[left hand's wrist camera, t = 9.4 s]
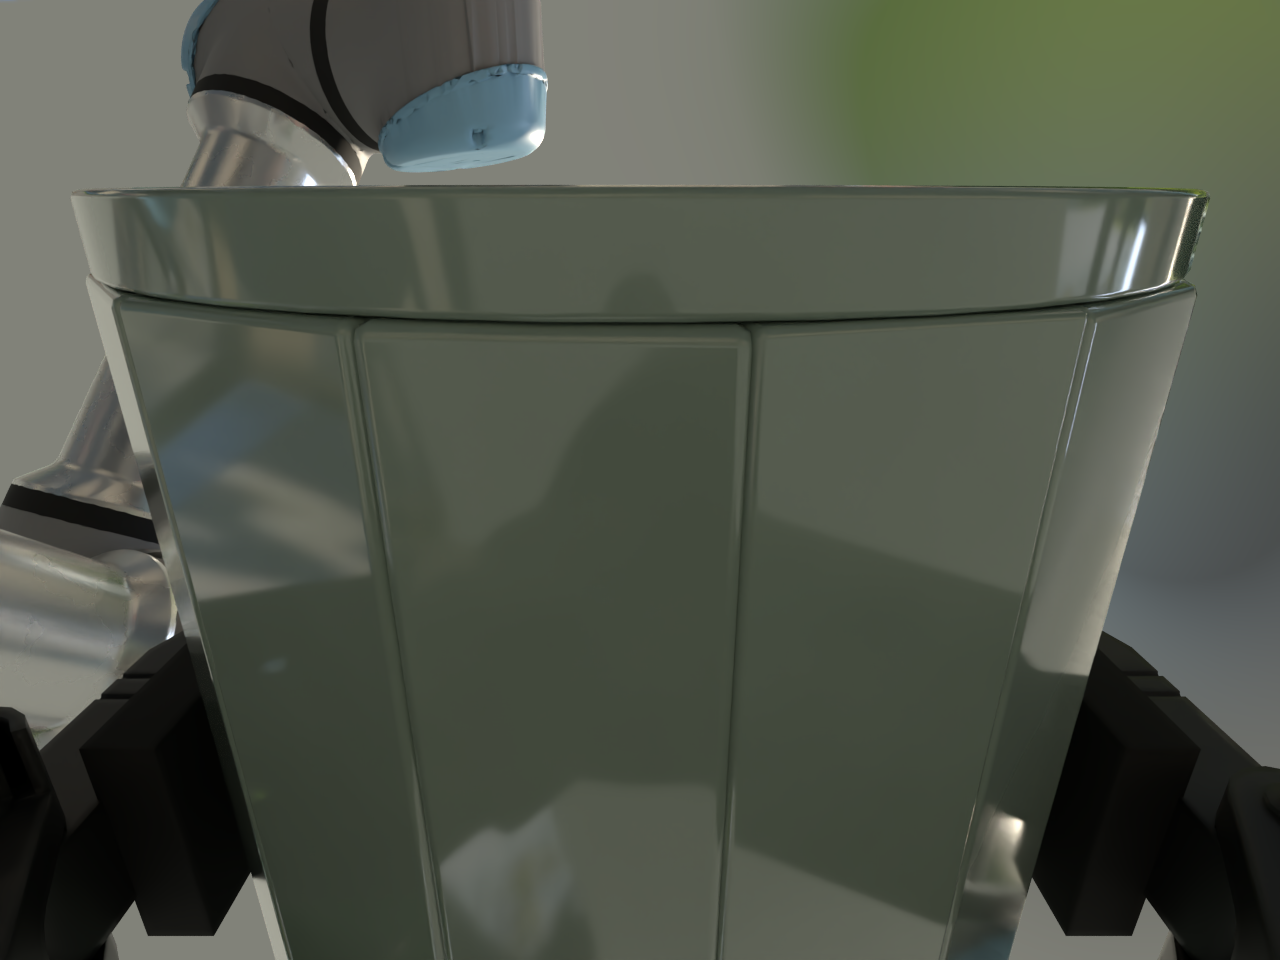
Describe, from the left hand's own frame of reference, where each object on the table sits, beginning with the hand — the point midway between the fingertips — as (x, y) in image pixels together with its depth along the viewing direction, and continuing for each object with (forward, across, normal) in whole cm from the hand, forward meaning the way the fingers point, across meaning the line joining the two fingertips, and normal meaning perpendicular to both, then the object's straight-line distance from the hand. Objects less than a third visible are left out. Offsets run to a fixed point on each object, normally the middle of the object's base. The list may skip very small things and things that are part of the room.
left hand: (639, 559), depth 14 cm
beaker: (-4, 0, -6) cm, 8 cm away
